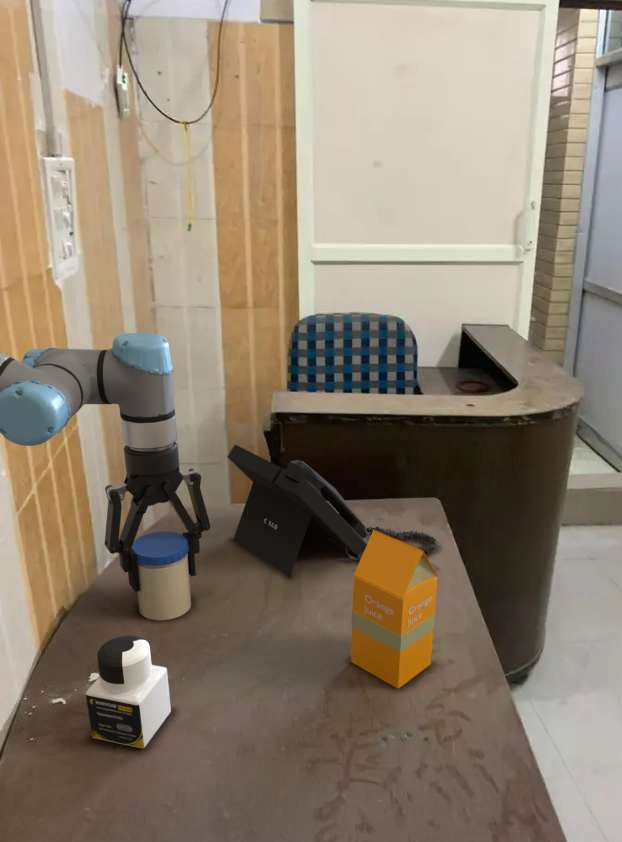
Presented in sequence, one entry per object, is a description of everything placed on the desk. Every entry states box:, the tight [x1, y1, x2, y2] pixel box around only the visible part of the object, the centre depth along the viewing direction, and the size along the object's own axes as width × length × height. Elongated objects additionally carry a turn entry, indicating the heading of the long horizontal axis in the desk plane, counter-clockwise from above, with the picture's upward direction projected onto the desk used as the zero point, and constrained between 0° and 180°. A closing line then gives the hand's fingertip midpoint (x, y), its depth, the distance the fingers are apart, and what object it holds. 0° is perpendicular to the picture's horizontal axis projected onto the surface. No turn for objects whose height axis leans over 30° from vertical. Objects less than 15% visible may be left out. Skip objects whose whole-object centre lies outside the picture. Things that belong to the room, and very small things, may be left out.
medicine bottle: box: [85, 635, 172, 749], centre depth 93 cm, size 7×7×12 cm
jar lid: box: [132, 530, 189, 566], centre depth 116 cm, size 8×8×2 cm
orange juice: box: [350, 529, 439, 689], centre depth 105 cm, size 8×9×20 cm
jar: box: [136, 554, 192, 621], centre depth 118 cm, size 8×8×10 cm
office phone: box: [227, 444, 437, 578], centre depth 137 cm, size 29×28×20 cm
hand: (163, 579), depth 118 cm, fingers closed on jar lid, 8 cm apart
